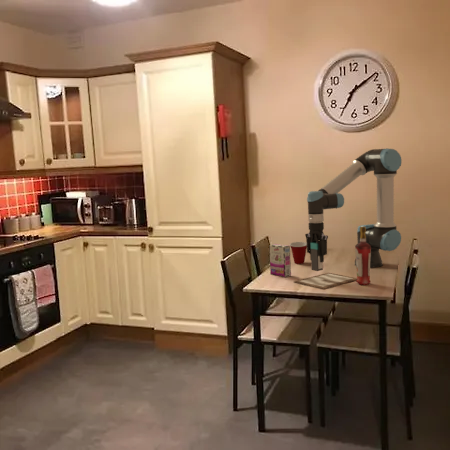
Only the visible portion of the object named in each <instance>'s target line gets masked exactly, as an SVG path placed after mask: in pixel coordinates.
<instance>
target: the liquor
mask: <svg viewBox="0 0 450 450" xmlns="http://www.w3.org/2000/svg"><path fill="white" fill-rule="evenodd" d="M365 231H366V227H360V243H358V242H357V243H356V244H355V245H354V246H355V249H354V250H355V251H354V252H355V259H356V265H355V266H356V278H357V280H356V281H355V282H356V283H357V284H358V285H360V286H368V285H369V284H370V283H371V282H372V281H371V267H370V258H371V245H369V244H368V243H366V237H365Z"/></svg>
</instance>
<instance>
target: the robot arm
mask: <svg viewBox="0 0 450 450" xmlns="http://www.w3.org/2000/svg"><path fill="white" fill-rule="evenodd" d="M402 161H403V160H402V157H401V154H400V153H399V152H398V151H397V150H396V149H394V148H377V149H376V148H375V149H370V150H367V151H364V153H362V154H361V155H359V156H357V158H356V159H354V160H353V161H352V162H351V163H352V164H350V166H348V167H346V169H344V170H343V171H341V172H340V173H339V174H338V175H336V176H335V177H334V178H333V179H331V180H330V181H328V182H327V183H326V184H325V185H324V186H322V187H320V189H318V190H312V191H309V192H307V198H306V201H307V214H308V215H307V217H308V220H307V221H308V230H309V232H308V233H305V234H304V235H305V239H306V240H305V241H306V243H307V249H306V253H307V254H309V255H310V256H309V257H310V260H311V243H314V242H316V243H318V251H319V255H318V269H321V268H323V269H324V260H325V259H324V258H325V257H324V256H327V255H328V239H329V236H328V235H326V234H324V229H325V228H324V227H325V225H324V224H325V223H324V210H331V209H341V208H342V207H343V206H344V205H345V197H344V195H343V194H342V193H340V192H341V191H342V190H344V189H345V188H346V187H348V186H349V185H350V184H351V183H353V182H354V181H355V180H356V179H358V178H359V177H361V176H364V175H366V174H367V173H369V172H373V175H374V177H376V222H375V223H371V224H362V225H359V226H357V229H356V234H357V244H358V243H360V227H366V231H365V237H366V243H368V244H369V245H371V258H370V268H379V267H382V266H383V259H382V256H381V253H380V250H382V251H384V252H386V251H388V252H392V251H395V250H396V249H398V247H399V246H400V244H401V241H402V234H401V233H400V231H399V230H398V229H397V224H396V223H395V222H394V220H395V219H394V217H395V216H394V214H395V213H394V207H395V206H394V204H395V203H394V202H395V201H394V200H395V199H394V195H395V193H394V192H395V191H394V190H395V189H394V186H395V185H394V183H395V182H394V178H395V176H397V174H398V173H397V172H398V170H399V169H400V168H401V166H402ZM354 266H356V258H355V260H354ZM310 268H312V266H311V267H310Z"/></svg>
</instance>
